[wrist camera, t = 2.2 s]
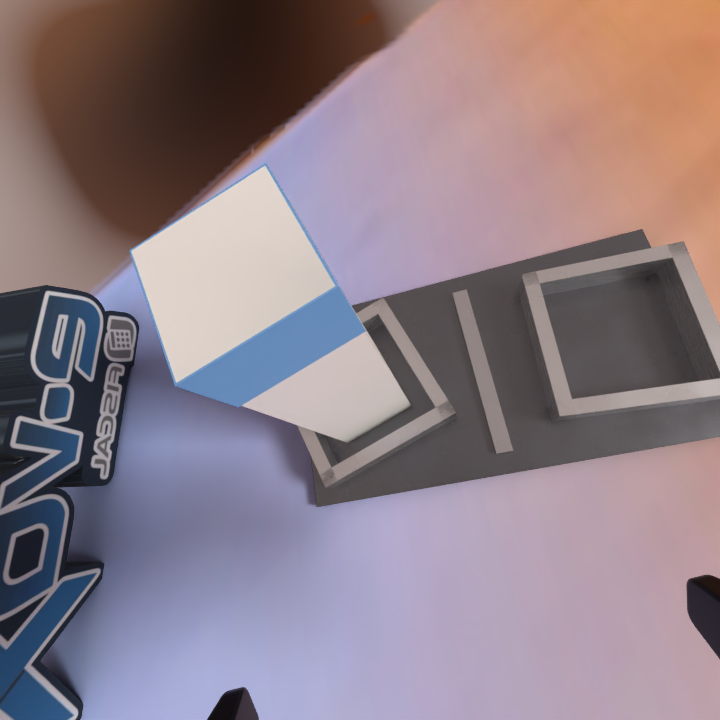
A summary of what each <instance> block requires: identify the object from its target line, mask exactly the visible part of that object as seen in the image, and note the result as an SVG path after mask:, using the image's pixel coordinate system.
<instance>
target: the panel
mask: <svg viewBox="0 0 720 720" xmlns="http://www.w3.org/2000/svg"><path fill="white" fill-rule="evenodd" d="M649 248H651V246H650V244H649V242H648V240H647V238H646V236H645V234H644V232H643V230H642V229H640V230H637V231H633V232H629V233H625V234H622V235H618V236H614V237H610V238H606V239H603V240H599V241H595V242H591V243H588V244H584V245H580V246H576V247H572V248H569V249H565V250H561V251H557V252H553V253H550V254H546V255H542V256H538V257H535V258H531V259H527V260H523V261H519V262H516V263H512V264H508V265H504V266H501V267H497V268H493V269H489V270H485V271H482V272H478V273H474V274H470V275H466V276H463V277H459V278H455V279H451V280H448V281H444V282H440V283H436V284H432V285H429V286H425V287H421V288H417V289H414V290H410V291H406V292H402V293H398V294H395V295H391V296H387V297H383V298H384V300H385V301H386V303H387V304H388V306H389V308H390V309H391V311H392V312H393V314H394V315H395V317H396V319H397V320H398V322H399V323H400V325H401V326H402V328H403V330H404V331H405V333H406V334H407V336H408V338H409V339H410V341H411V342H412V344H413V345H414V347H415V349H416V350H417V352H418V353H419V355H420V356H421V358H422V360H423V361H424V363H425V364H426V366H427V368H428V369H429V371H430V372H431V374H432V375H433V377H434V379H435V380H436V382H437V383H438V385H439V386H440V388H441V390H442V391H443V393H444V394H445V396H446V397H447V399H448V401H449V402H450V404H451V405H452V407H453V409H454V410H455V412H456V418H455V419H453V420H451V421H450V422H448V423H446V424H444V425H443V426H441V427H439V428H437V429H436V430H434V431H432V432H430V433H429V434H427V435H425V436H423V437H422V438H420V439H418V440H416V441H415V442H413V443H411V444H409V445H408V446H406V447H404V448H402V449H401V450H399V451H397V452H395V453H394V454H392V455H390V456H388V457H387V458H385V459H383V460H381V461H380V462H378V463H376V464H375V465H373V466H371V467H369V468H368V469H366V470H364V471H362V472H361V473H359V474H357V475H355V476H354V477H352V478H350V479H348V480H347V481H345V482H343V483H341V484H340V485H338V486H336V487H327V488H325V486H324V483H323V481H322V479H321V477H320V475H319V472H318V470H317V468H316V466H315V464H314V461H313V459H312V457H311V462H312V470H313V478H314V487H315V495H316V503H317V507H320V506H326V505H332V504H337V503H343V502H349V501H354V500H360V499H366V498H372V497H377V496H383V495H389V494H395V493H400V492H406V491H412V490H417V489H423V488H429V487H435V486H440V485H446V484H452V483H457V482H463V481H469V480H475V479H480V478H486V477H492V476H498V475H503V474H509V473H515V472H520V471H526V470H532V469H538V468H543V467H549V466H555V465H561V464H566V463H572V462H578V461H583V460H589V459H595V458H601V457H606V456H612V455H618V454H623V453H629V452H635V451H641V450H646V449H652V448H658V447H664V446H669V445H675V444H681V443H686V442H692V441H698V440H704V439H709V438H715V437H720V399H719V400H711V401H704V402H696V403H689V404H681V405H673V406H666V407H658V408H651V409H643V410H635V411H628V412H620V413H613V414H605V415H597V416H590V417H582V418H575V419H567V420H559V421H552V419H551V415H550V412H549V408H548V404H547V400H546V396H545V392H544V388H543V385H542V381H541V377H540V373H539V369H538V365H537V361H536V358H535V354H534V350H533V346H532V342H531V338H530V334H529V331H528V327H527V323H526V319H525V315H524V311H523V308H522V304H521V300H520V296H519V292H518V285H519V282H520V279H521V275H522V274H525V273H530V272H535V271H540V270H545V269H550V268H555V267H560V266H565V265H570V264H575V263H580V262H585V261H590V260H595V259H600V258H604V257H609V256H614V255H619V254H624V253H629V252H634V251H639V250H644V249H649ZM543 298H544V301H545V305H546V308H547V312H548V315H549V319H550V322H551V326H552V330H553V333H554V337H555V340H556V344H557V347H558V351H559V354H560V358H561V362H562V365H563V369H564V372H565V376H566V379H567V383H568V387H569V390H570V394H571V397H572V399H576V398H584V397H591V396H598V395H605V394H612V393H619V392H626V391H633V390H640V389H648V388H655V387H662V386H669V385H676V384H683V383H690V382H697V381H699V380H698V377H697V375H696V372H695V370H694V367H693V365H692V362H691V360H690V357H689V354H688V352H687V349H686V347H685V344H684V342H683V339H682V337H681V334H680V332H679V329H678V326H677V324H676V321H675V319H674V316H673V314H672V311H671V309H670V306H669V303H668V301H667V298H666V296H665V293H664V291H663V288H662V286H661V283H660V281H659V278H658V275H657V274H653V275H648V276H643V277H637V278H632V279H627V280H622V281H616V282H611V283H606V284H601V285H595V286H590V287H585V288H580V289H574V290H569V291H564V292H559V293H553V294H548V295H543ZM379 299H381V298H379ZM379 299H376V300H372V301H368V302H364V303H361V304H357V305H353V306H352V308H353V309H354V311H355V312H356V313H358V312H359V311H361V310H363V309H364V308H366V307H368V306H369V305H371V304H373V303H374V302H376V301H378V300H379ZM368 334H369V335H370V337H371V338H372V340H373V342H374V343H375V345H376V347H377V348H378V350H379V352H380V353H381V355H382V357H383V358H384V360H385V362H386V363H387V365H388V367H389V369H390V370H391V372H392V374H393V375H394V377H395V379H396V380H397V382H398V384H399V386H400V387H401V389H402V391H403V392H404V394H405V396H406V397H407V399H408V401H409V403H410V404H411V407H409V408H408V409H406V410H404V411H402V412H401V413H399V414H397V415H395V416H394V417H392V418H390V419H389V420H387V421H385V422H383V423H382V424H380V425H378V426H376V427H375V428H373V429H371V430H370V431H368V432H366V433H364V434H363V435H361V436H359V437H357V438H356V439H354V440H352V441H351V442H349V443H347V442H344V441H341V440H338V439H335V438H332V437H330V436H327V435H325V438H326V440H327V442H328V444H329V446H330V448H331V450H332V452H333V454H334V456H335V458H336V461H337V463H338V464H339V463H340V462H342V461H344V460H346V459H347V458H349V457H351V456H353V455H354V454H356V453H358V452H359V451H361V450H363V449H365V448H366V447H368V446H370V445H372V444H373V443H375V442H377V441H379V440H380V439H382V438H384V437H386V436H387V435H389V434H391V433H392V432H394V431H396V430H398V429H399V428H401V427H403V426H405V425H406V424H408V423H410V422H412V421H413V420H415V419H417V418H418V417H420V416H422V415H424V414H425V413H427V412H429V411H431V410H432V409H434V406H433V405H432V403H431V401H430V400H429V398H428V396H427V395H426V393H425V392H424V390H423V388H422V387H421V385H420V383H419V382H418V380H417V378H416V377H415V375H414V374H413V372H412V370H411V369H410V367H409V365H408V364H407V362H406V361H405V359H404V357H403V356H402V354H401V352H400V351H399V349H398V347H397V346H396V344H395V343H394V341H393V339H392V338H391V336H390V334H389V333H388V331H387V330H386V328H385V326H384V325H382V326H380V327H378V328H377V329H375V330H373V331H372V332H370V333H368Z"/></svg>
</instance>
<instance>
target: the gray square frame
mask: <svg viewBox="0 0 720 720" xmlns="http://www.w3.org/2000/svg"><path fill="white" fill-rule="evenodd" d="M356 314H357V316H358V317H359V319H360V321H361V322H362V324H363V325H364V327H365V329H366V330H367V332H368V333H370V332H372V331H373V330H375V329H377V328H378V327H380V326H382V325H384V326H385V328H386V330H387V331H388V333H389V334H390V336H391V338H392V339H393V341H394V343H395V344H396V346H397V347H398V349H399V351H400V352H401V354H402V356H403V357H404V359H405V361H406V362H407V364H408V365H409V367H410V369H411V370H412V372H413V374H414V375H415V377H416V378H417V380H418V382H419V383H420V385H421V387H422V388H423V390H424V392H425V393H426V395H427V396H428V398H429V400H430V401H431V403H432V405H433V406H434V409H432V410H431V411H429V412H427V413H425V414H424V415H422V416H420V417H418V418H417V419H415V420H413V421H412V422H410V423H408V424H406V425H405V426H403V427H401V428H399V429H398V430H396V431H394V432H392V433H391V434H389V435H387V436H386V437H384V438H382V439H380V440H379V441H377V442H375V443H373V444H372V445H370V446H368V447H366V448H365V449H363V450H361V451H359V452H358V453H356V454H354V455H353V456H351V457H349V458H347V459H346V460H344V461H342V462H340V463H339V464H338V463H337V461H336V458H335V456H334V454H333V452H332V450H331V448H330V446H329V444H328V442H327V440H326V438H325V435H324V434H321V433H318V432H315V431H312V430H310V429H307V428H304V427H301V426H298V425H297V426H298V428H299V431H300V433H301V435H302V437H303V439H304V442H305V444H306V446H307V448H308V450H309V453H310V455H311V457H312V459H313V461H314V464H315V466H316V468H317V470H318V472H319V475H320V477H321V479H322V481H323V483H324V486H325V488H327V487H336V486H338V485H340V484H341V483H343V482H345V481H347V480H348V479H350V478H352V477H354V476H355V475H357V474H359V473H361V472H362V471H364V470H366V469H368V468H369V467H371V466H373V465H375V464H376V463H378V462H380V461H381V460H383V459H385V458H387V457H388V456H390V455H392V454H394V453H395V452H397V451H399V450H401V449H402V448H404V447H406V446H408V445H409V444H411V443H413V442H415V441H416V440H418V439H420V438H422V437H423V436H425V435H427V434H429V433H430V432H432V431H434V430H436V429H437V428H439V427H441V426H443V425H444V424H446V423H448V422H450V421H451V420H453V419H455V418H456V412H455V410H454V409H453V407H452V405H451V404H450V402H449V401H448V399H447V397H446V396H445V394H444V393H443V391H442V390H441V388H440V386H439V385H438V383H437V382H436V380H435V379H434V377H433V375H432V374H431V372H430V371H429V369H428V368H427V366H426V364H425V363H424V361H423V360H422V358H421V356H420V355H419V353H418V352H417V350H416V349H415V347H414V345H413V344H412V342H411V341H410V339H409V338H408V336H407V334H406V333H405V331H404V330H403V328H402V326H401V325H400V323H399V322H398V320H397V319H396V317H395V315H394V314H393V312H392V311H391V309H390V308H389V306H388V304H387V303H386V301H385V300H384V298H381V299H379V300H378V301H376V302H374V303H373V304H371V305H369V306H368V307H366V308H364V309H363V310H361V311H359V312H358V313H356Z"/></svg>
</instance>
